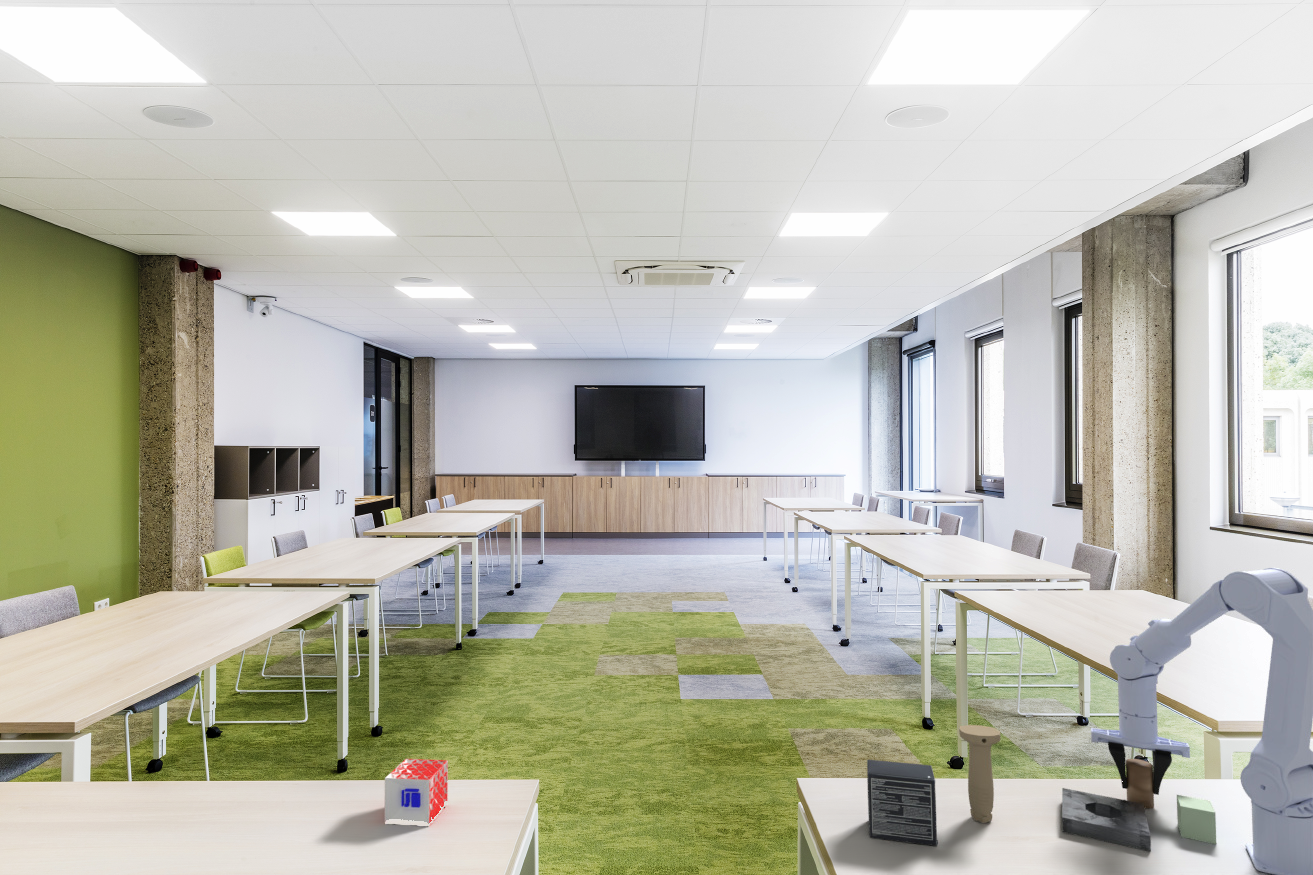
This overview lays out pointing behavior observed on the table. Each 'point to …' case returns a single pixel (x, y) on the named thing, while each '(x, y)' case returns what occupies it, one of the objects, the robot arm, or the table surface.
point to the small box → (902, 802)
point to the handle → (980, 769)
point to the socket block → (1105, 819)
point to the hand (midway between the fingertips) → (1139, 789)
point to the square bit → (1196, 819)
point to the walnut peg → (1140, 782)
